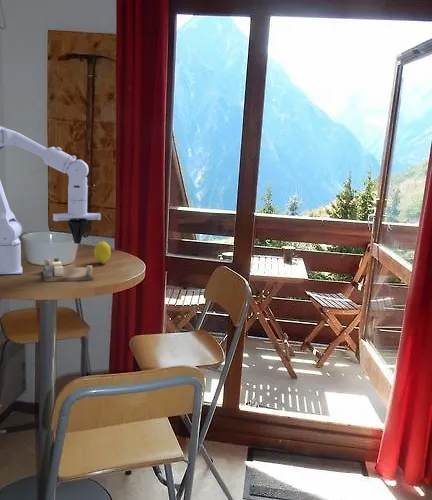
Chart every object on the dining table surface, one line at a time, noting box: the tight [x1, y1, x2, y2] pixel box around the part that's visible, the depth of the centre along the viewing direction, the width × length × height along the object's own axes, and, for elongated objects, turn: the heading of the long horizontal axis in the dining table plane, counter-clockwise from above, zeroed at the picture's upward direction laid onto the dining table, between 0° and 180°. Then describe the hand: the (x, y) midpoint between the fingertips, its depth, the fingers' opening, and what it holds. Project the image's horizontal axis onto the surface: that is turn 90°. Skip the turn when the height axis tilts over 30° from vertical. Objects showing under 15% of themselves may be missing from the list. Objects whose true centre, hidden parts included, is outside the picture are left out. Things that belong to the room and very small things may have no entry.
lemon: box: [93, 240, 112, 264], centre depth 169 cm, size 6×6×8 cm
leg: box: [51, 257, 64, 276], centre depth 149 cm, size 10×2×3 cm, turn 22°
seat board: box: [42, 258, 94, 283], centre depth 151 cm, size 14×12×4 cm
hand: (77, 243), depth 152 cm, fingers closed
